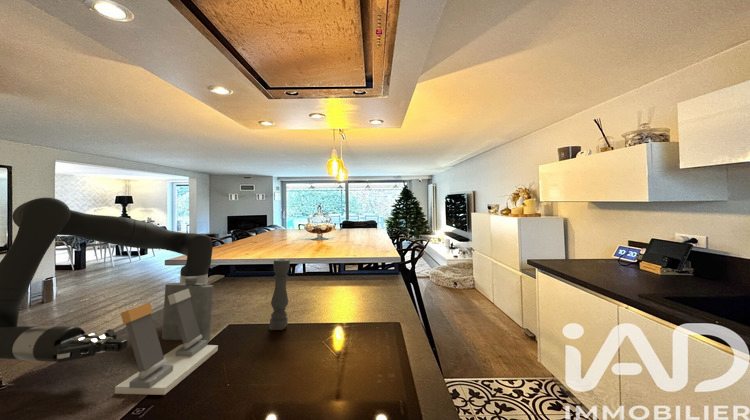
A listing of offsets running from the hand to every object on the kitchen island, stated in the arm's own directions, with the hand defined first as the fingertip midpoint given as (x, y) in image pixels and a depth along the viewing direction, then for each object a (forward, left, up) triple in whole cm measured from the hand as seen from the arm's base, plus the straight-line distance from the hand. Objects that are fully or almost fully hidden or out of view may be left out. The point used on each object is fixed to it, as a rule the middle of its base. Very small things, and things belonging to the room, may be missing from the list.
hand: (124, 345), depth 67 cm
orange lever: (+6, +4, -5) cm, 9 cm away
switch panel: (+2, +10, -9) cm, 14 cm away
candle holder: (+2, +45, -9) cm, 46 cm away
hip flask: (-15, +22, -9) cm, 28 cm away
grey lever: (-2, +17, -5) cm, 17 cm away
